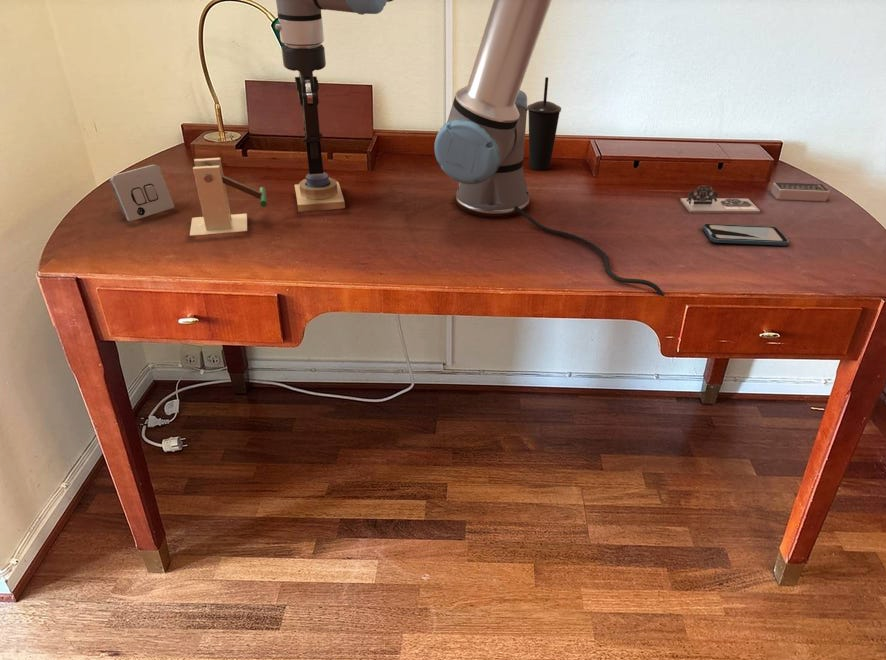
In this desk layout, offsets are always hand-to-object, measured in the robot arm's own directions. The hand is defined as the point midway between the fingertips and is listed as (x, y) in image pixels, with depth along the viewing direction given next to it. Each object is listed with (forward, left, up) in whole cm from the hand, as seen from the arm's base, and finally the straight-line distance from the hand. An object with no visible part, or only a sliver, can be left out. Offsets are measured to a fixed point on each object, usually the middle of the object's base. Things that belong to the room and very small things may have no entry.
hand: (316, 172), depth 136 cm
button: (0, 0, -3) cm, 3 cm away
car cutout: (-51, -67, -7) cm, 84 cm away
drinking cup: (-11, -53, -7) cm, 54 cm away
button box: (0, 0, -7) cm, 7 cm away
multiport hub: (-59, -86, -7) cm, 104 cm away
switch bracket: (0, +21, -7) cm, 22 cm away
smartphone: (-63, -57, -7) cm, 85 cm away
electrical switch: (+15, +29, -7) cm, 34 cm away
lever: (-1, +18, +1) cm, 18 cm away
